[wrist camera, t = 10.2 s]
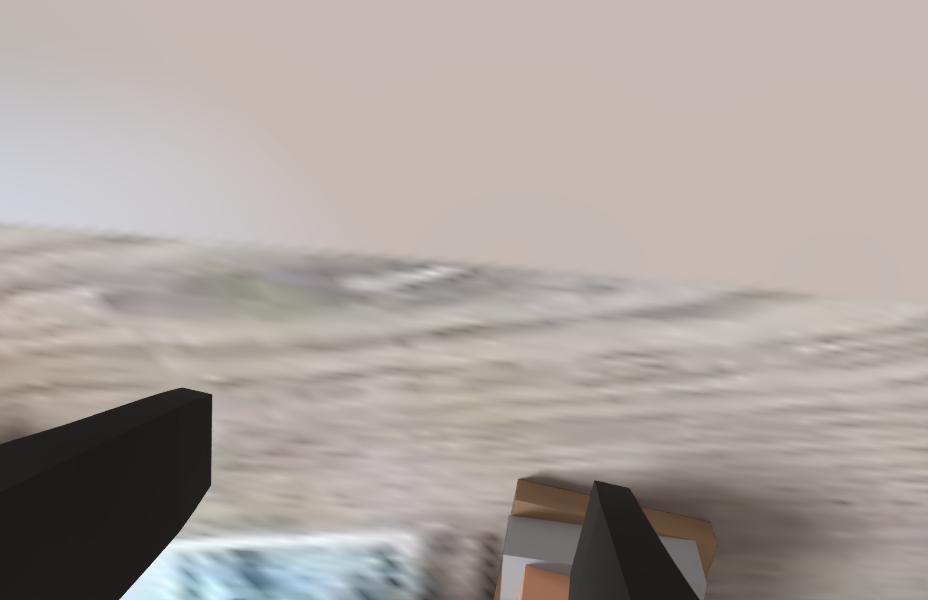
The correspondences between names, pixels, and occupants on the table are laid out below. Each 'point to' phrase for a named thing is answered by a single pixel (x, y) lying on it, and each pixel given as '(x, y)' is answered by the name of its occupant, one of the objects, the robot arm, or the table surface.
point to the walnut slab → (573, 508)
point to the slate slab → (557, 548)
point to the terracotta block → (543, 585)
